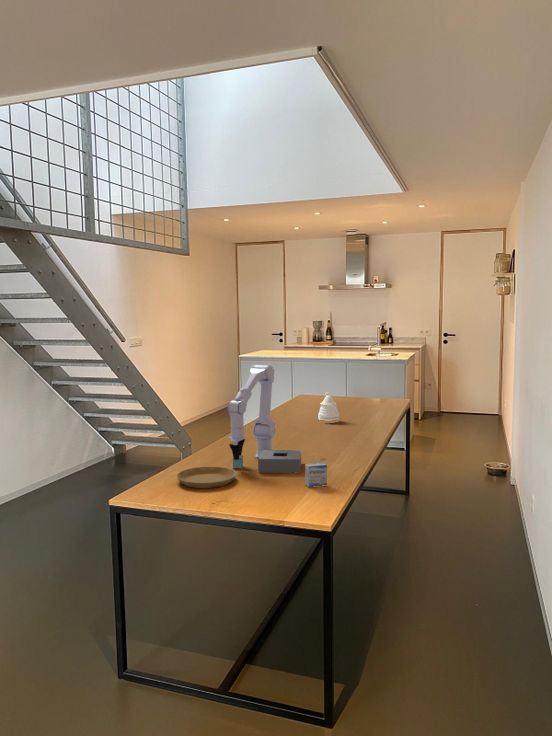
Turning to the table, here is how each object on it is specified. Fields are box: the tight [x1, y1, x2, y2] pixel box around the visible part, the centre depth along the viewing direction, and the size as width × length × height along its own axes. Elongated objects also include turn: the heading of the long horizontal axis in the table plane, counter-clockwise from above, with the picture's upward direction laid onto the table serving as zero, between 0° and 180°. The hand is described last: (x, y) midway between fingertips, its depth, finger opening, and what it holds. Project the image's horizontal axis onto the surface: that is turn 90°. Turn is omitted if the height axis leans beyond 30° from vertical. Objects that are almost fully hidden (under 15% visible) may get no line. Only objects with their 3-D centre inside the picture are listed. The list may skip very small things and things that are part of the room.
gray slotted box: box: [257, 449, 302, 474], centre depth 255 cm, size 16×18×6 cm
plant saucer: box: [176, 466, 237, 489], centre depth 237 cm, size 24×24×3 cm
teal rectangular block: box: [232, 454, 244, 469], centre depth 257 cm, size 4×4×5 cm
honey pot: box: [317, 392, 340, 421], centre depth 356 cm, size 13×13×18 cm
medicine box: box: [304, 462, 328, 488], centre depth 229 cm, size 8×4×9 cm, turn 105°
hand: (237, 457), depth 256 cm, fingers open, 7 cm apart
